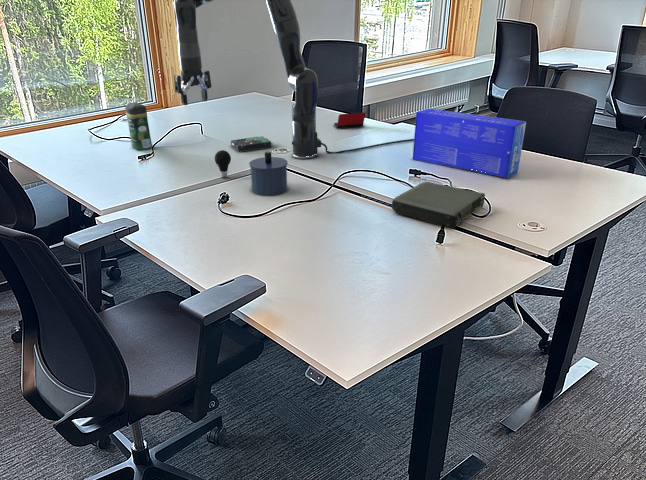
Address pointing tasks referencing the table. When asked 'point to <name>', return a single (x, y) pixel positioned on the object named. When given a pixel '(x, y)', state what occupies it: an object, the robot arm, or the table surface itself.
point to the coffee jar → (138, 126)
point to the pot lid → (268, 162)
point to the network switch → (438, 204)
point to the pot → (269, 181)
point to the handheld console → (350, 120)
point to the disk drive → (250, 144)
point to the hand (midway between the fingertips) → (195, 103)
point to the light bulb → (223, 161)
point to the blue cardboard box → (469, 141)
